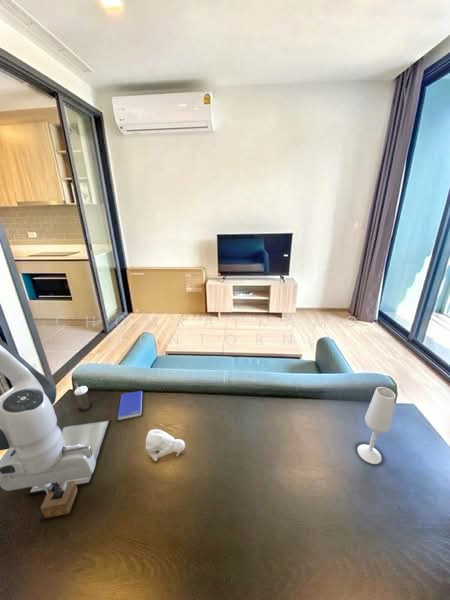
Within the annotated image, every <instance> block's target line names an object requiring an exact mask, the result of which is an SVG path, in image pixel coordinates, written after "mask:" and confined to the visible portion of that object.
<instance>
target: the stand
mask: <svg viewBox="0 0 450 600" xmlns="http://www.w3.org/2000/svg"><path fill="white" fill-rule="evenodd" d="M58 484H59V483H58ZM78 489H79V488H78V486H76V483H75V480H74V481H68V482H67V487H66V489H65V491H61V492H62V495H63V496H62V498H59V499H57V496H56V494H55V491H54V493H49V494H47V493H46V495H45V497H44V499H43V502H42V504H41V506H40V510H41V512H42V515H43V517H44V519H46V518H48V519H49V518H52V517H58V516H64V515H69V514H70V513H71V510H72V507H73V505H74V502H75V499H76V497H77V493H78V491H79V490H78Z"/></svg>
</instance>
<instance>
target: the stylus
mask: <svg viewBox="0 0 450 600" xmlns="http://www.w3.org/2000/svg"><path fill="white" fill-rule="evenodd" d="M58 485H59V484H58V482H56V483H52V486H53V488H54V491H55V494H56V496H57V499H59V498H62V496H63V495H62V492H58V490H57V486H58Z"/></svg>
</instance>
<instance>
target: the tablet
mask: <svg viewBox="0 0 450 600" xmlns="http://www.w3.org/2000/svg"><path fill="white" fill-rule="evenodd" d="M109 423H110V421H109V420H105V421H97V422H96V421H95V422H89V423H83V424H76V425H75V424H74V425H68V426H63V428H62V429H61V432H62V435H63V439H64V442H65V445H66V447H67V446H76V445H80V444H83V445H84V446H89V447H90V448H91V450H92V453H93V455H94V457H95V460H96V462H97V461H98V458H99V455H100V451H101V448H102V445H103V442H104V440H105V436H106V433H107V430H108V428H109ZM92 476H93V473H92V474H91V476H90V477H85V478H79V479H74V480H75V483H76V486H77V487H80V486H87V485H90V483H91V479H92ZM74 480H68V481H74ZM68 481H66V482H68ZM58 483H59V482H58ZM29 493H30V495H36V494H40V493H41V494H42V493H46V491H45V490H43V489H41V488H39V487H38V486H33V487H31V489H30V491H29Z"/></svg>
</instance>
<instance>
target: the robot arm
mask: <svg viewBox="0 0 450 600" xmlns="http://www.w3.org/2000/svg"><path fill="white" fill-rule="evenodd" d="M0 373H1V374H2V375H3V376H4V377H6V378H7V379H8V380H9V381H11V382H12V387H11V388H10V389H8V390H6V391H5V392H4V393H2V394H1V395H0V451H5V452H4V454H3V455H2V456H1V458H0V488H1V489H2V490H4V491H8V492H10V491H14V490H22V489H27V488H32V487H33V486H38V487H39V488H41V489H43V490H45V491H46V492H45V493H46V495H47V494H49V493H54V488H53V486H52V483H56V482H59V485H58V486H57V490H58V492H61V491H65V489H66V487H67V482H66V481H68V480H74V479H79V478H85V477H90V476H91V474H92V475H93V473H94V471H95V469H96V465H97V461H96V460H95V457H94V455H93V453H92V450H91V448H90V447H89V446H84V445H83V444H80V445H76V446H67V447H66V445H65V442H64V439H63V435H62V429H61V428H60V427H59V425H58V417H57V414H56V412H55V409H54V406H53V405H54V404H55V402H56V399H57V386H56V384H55V383H54V381H53V380H51V378H49V377H47V375H44V374H43V373H41V372H40V371H38V370H37V369H36V368H34V367H33V366H32V365H31V364H30V363H29V362H28V361H27V360H26V359H24V358H23V357H22V356H21V355H19V353H17V351H15V350H14V349H12V347H11V346H9V345H8V344H7V343H6V342H5V341H4V340H2V339H1V338H0ZM91 477H92V476H91Z"/></svg>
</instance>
